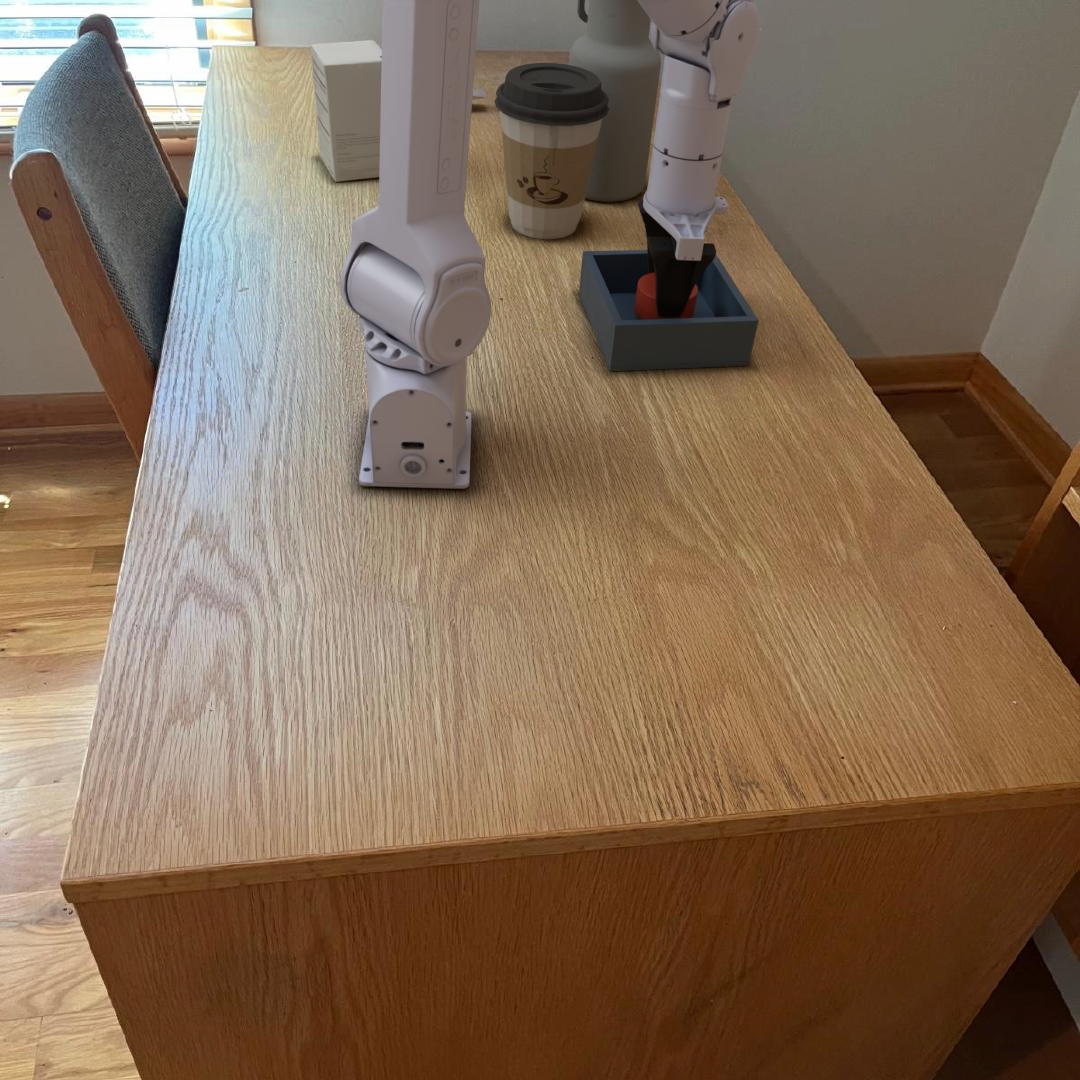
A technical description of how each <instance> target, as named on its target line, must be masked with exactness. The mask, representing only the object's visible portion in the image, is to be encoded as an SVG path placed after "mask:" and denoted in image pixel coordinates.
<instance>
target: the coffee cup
mask: <svg viewBox="0 0 1080 1080" xmlns="http://www.w3.org/2000/svg"><path fill="white" fill-rule="evenodd" d="M495 96H496V98H495V99H494V100H493V101H494V102H493V103H494V105H495V108H496V109H498V111H499V113H500V125H501V126H500V127H501V136H502V138H501V139H502V149H503V150H502V151H503V161H504V172H505V173H504V174H505V184H506V196H507V197H506V198H507V206H508V207H507V209H508V216H509V219H510V223H511V228H513V229H514V231H516V232H517V233H519V234H520V235H522V236H526V237H529V238H533V239H538V240H557V239H563V238H566V237H568V236H571V235H572V234H574V233H575V232H576V230H577V227H578V224H579V223H580V220H581V217H582V212H583V207H584V203H585V200H586V199H585V194H586V190H587V185H588V181H589V176H590V172H591V167H592V163H593V158H594V154H595V149H596V145H597V140H598V135H599V131H600V126H601V122H602V118H604V117H605V116H607V114H608V111H609V108H608V102H609V99H608V97H607V95H606V93H605V92H604V91H603V90H602V89H601V81H600V79H599V77H598V76H596V75H595V74H594V73H592V72H591V71H588V70H585V69H583V68H580V67H576V66H572V65H569V64H566V63H558V62H532V63H525V64H521V65H517V66H515V67H513V68H511V69H510V70H508V72H507V73H506V75H505V78H504V82H503V83H501V84H500V85H498V87H497V89H496V91H495Z"/></svg>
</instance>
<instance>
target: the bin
mask: <svg viewBox="0 0 1080 1080" xmlns="http://www.w3.org/2000/svg"><path fill="white" fill-rule="evenodd" d="M580 266H581V267H580V277H579V288H578V297H579V299H580V301H581V304H582V306H583V309H584V312H585V314H586V316H587V319H588V321H589V324H590V326H591V329H592V331H593V334H594V336H595V339H596V341H597V344H598V346H599V348H600V351H601V353H602V355H603V359H604V361H605V363H606V366H607V368H608V370H609V372H626V371H627V372H628V371H630V372H631V371H654V370H674V369H697V368H721V367H723V368H725V367H745V366H747V367H749V365H750V361H751V358H752V357H751V356H752V353H753V352H752V351H753V347H754V344H755V339H756V333H757V329H758V325H759V321H760V320H759V318H758V317H757V316H756V314H755V312H754V310H753V309H752V307H751V306H750V304H749V303H748V302H747V300H746V298H745V297H744V296H743V294H742V292H741V290H740V289H739V287H738V286H737V284H736V283H735V281H734V279H733V278H732V277H731V275H730V274H729V272H728V271H727V269H726V267H725V266H724V264H723V263H722V261H721V259H720V258H719V256H718V255H717V254H716V255H715V258H714V260H713V261H712V262H711V263H710V264H709V265H708V267H707V268H706V269H705V270H704V271H703V273H702V274H701V276H700V277H699V279H698V281H697V282H696V285H697V287H698V294H697V299H696V305H695V311H694V316H693V318H680V319H651V320H641V319H640V318H639V317H638V316H637V315H636V313H635V311H634V307H635V300H636V293H637V285H638V281H639V279H640V278H641V277H643V276H644V275H647V274H649V273H648V256H647V249H620V250H617V249H616V250H614V249H613V250H583V251H582V256H581V265H580Z"/></svg>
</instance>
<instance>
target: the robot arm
mask: <svg viewBox="0 0 1080 1080" xmlns="http://www.w3.org/2000/svg"><path fill="white" fill-rule="evenodd" d="M637 1H638V2H639V4H640V5H641V6H642V8H643V9H644V10H645V12H646V13H647V15H648V16H649V18H650V20H651V23H650V41H651V42H652V44H653V47H654V49H655V50H658V51H659V53H660V54H662V55H664V59H663V67H662V75H661V82H660V91H659V97H658V98H659V99H658V105H657V106H658V107H657V114H656V120H655V121H656V122H655V128H654V137H653V144H652V149H651V150H652V151H651V157H650V165H649V173H648V174H649V175H648V180H647V188H646V191H645V193H644V194H643V199H641V200H639V201H638V203H637V206H638V211H639V214H640V216H641V218H642V221H643V225H644V229H645V238H646V250H647V256H648V273H649V274H650V273H655V297H656V309H657V314H658V316H660V317H681V315H682V313H683V311H684V309H685V307H686V305H687V302H688V300H689V298H690V295H691V293H692V291H693V288H694V286H695V284H696V282H697V281H698V279H699V277H700V276H701V274H702V273H703V271H704V270H705V269H706V268H707V267H708V265H709V264H710V263H711V262H712V261H713V260H714V258H715V255H717V249H716V245H715V244H714V243H713V242H705V239H706V238H705V234H706V232H707V230H708V229H709V225H710V224H711V222H712V220H713V218H714V216H715V215H726V214H727V213H728V208H729V204H728V201H727V199H726V198H725V197H722V196H716V195H717V188H718V184H719V179H720V173H721V168H722V161H723V156H724V151H725V146H726V139H727V133H728V128H729V122H730V117H731V112H732V111H731V110H732V106H733V100H734V97H735V96H738V95H739V93H740V90H741V88H742V87H743V86H744V85H743V83H744V78H745V74H746V71H747V68H748V66H749V64H750V62H751V60H752V59H753V57H754V54H755V53H756V50H757V48H758V46H759V43H760V41H761V36H762V33H763V28H760V25H761V16H760V12H759V8H758V7H757V5H756V4H755V2H754V0H637ZM479 11H480V0H382V22H381V23H382V27H381V28H382V30H381V49H382V71H381V121H380V171H379V177H378V178H379V180H378V205H376V206H374V207H372V208H370V209H369V210H367V211H366V212H364V213H362V214H361V215H360V216H358V217H357V218H355V219H354V220H353V221H352V222H351V239H350V245H349V250H348V252H347V255H346V257H345V260H344V262H343V264H342V268H341V272H340V277H339V290H340V295H341V298H342V300H343V302H344V304H345V305H346V307H347V308H348V309H349V310H350V311H351V312H352V313H354V314H355V315H357V316H358V320H359V332H360V333H361V334H362V335H363V336H364V355H365V371H366V385H367V387H366V388H367V402H368V403H367V404H368V405H367V406H368V420H367V426H366V431H365V432H366V434H365V438H364V439H365V440H364V443H363V444H364V445H363V451H362V457H361V462H360V463H361V464H360V469H359V475H358V483H359V485H361V486H363V487H378V488H379V487H382V488H383V487H385V488H386V487H387V488H419V489H421V488H422V489H454V490H455V489H459V490H462V489H467V488H468V487H470V480H471V479H470V478H471V477H470V474H471V452H472V451H471V447H472V418H473V415H472V412H470V411H468V410H467V372H468V371H467V369H468V368H467V366H468V365H467V364H468V357H470V356H471V355H473V354H474V351H475V350H476V349H477V348H478V346H479V345H480V344H481V342H482V341H483V339H484V337H485V335H486V333H487V329H488V328H489V325H490V321H491V317H492V300H491V295H490V292H489V290H488V288H487V284H486V280H485V279H486V277H485V272H486V271H485V270H486V269H485V268H486V255H485V254H484V252H483V249H482V248H481V246H480V244H479V241H478V240H477V238H476V236H475V235H474V233H473V231H472V229H471V227H470V225H469V224H468V221H467V219H466V217H465V205H466V190H467V175H468V163H469V150H470V137H471V136H470V134H471V121H472V107H473V100H472V95H473V88H474V79H475V65H476V55H477V54H476V52H477V51H476V50H477V39H478V25H479Z"/></svg>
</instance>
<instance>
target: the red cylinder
mask: <svg viewBox="0 0 1080 1080" xmlns="http://www.w3.org/2000/svg"><path fill="white" fill-rule="evenodd" d="M697 294H698V287H697V285H696V284H695V286H694V288H693V291H692V293H691V295H690V298H689V300H688V302H687V305H686V307H685V309H684V311H683V313H682V315H681V317H660V316H658V314H657V309H656V297H655V273H650V274H647V275H644V276H643V277H641V278H640V279H639V281H638V285H637V293H636V300H635V307H634V311H635V313H636V315H637V316H638V317H639V318H640V319H641V320H651V319H680V318H693V316H694V311H695V305H696V299H697Z"/></svg>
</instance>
